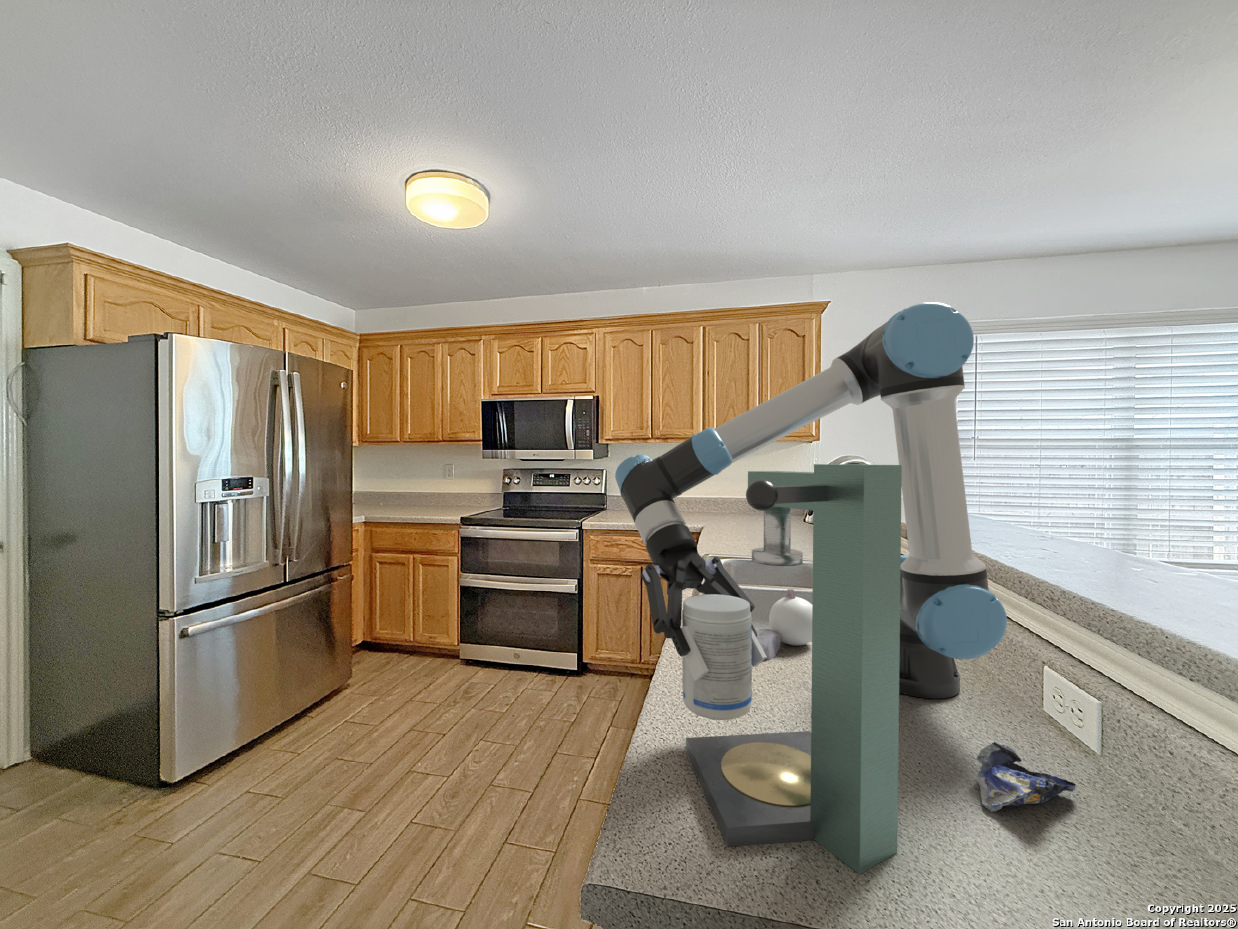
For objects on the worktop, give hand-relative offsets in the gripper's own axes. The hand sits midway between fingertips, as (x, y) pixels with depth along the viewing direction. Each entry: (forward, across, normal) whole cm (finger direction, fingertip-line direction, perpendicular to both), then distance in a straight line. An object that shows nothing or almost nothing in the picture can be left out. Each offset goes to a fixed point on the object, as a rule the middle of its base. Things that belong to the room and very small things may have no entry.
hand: (731, 669), depth 72 cm
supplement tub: (+2, 0, -7) cm, 7 cm away
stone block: (-12, -31, -30) cm, 45 cm away
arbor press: (+16, +1, -2) cm, 16 cm away
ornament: (-11, -42, -29) cm, 52 cm away
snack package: (+25, -26, +7) cm, 36 cm away
